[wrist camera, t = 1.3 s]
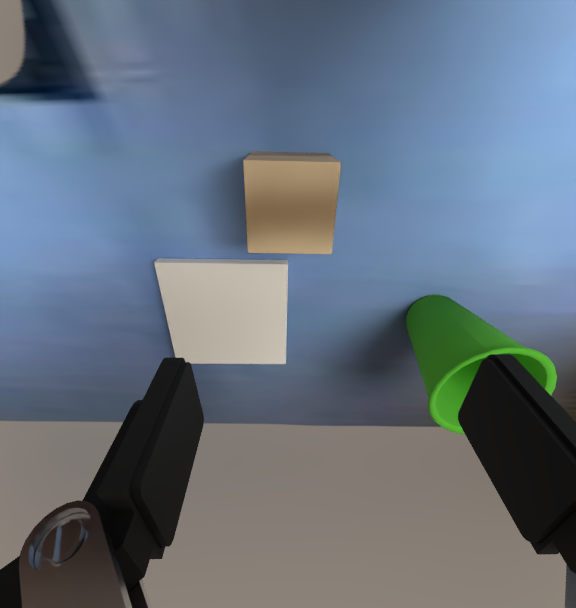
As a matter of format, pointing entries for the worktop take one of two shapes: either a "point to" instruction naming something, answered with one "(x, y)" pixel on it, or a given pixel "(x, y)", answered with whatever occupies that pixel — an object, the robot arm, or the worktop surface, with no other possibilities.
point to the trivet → (225, 309)
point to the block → (291, 202)
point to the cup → (461, 354)
